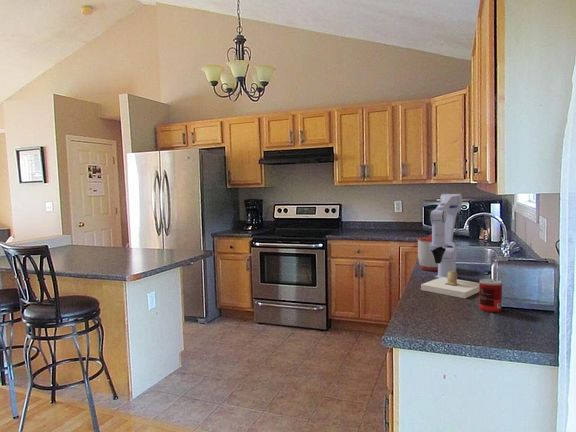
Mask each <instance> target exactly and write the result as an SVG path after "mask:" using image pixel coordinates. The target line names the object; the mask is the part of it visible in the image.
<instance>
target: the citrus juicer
mask: <svg viewBox="0 0 576 432" xmlns="http://www.w3.org/2000/svg"><path fill="white" fill-rule="evenodd" d="M430 243H432V233H431V234H429V235H428V236H427V237H419V238H417V257H418V258H417V259H418V264H419V266H420V269H421V270H423V271H435V272H438V263H435V259H434V256H433V253H432V251H431V250H429V246H430Z"/></svg>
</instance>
